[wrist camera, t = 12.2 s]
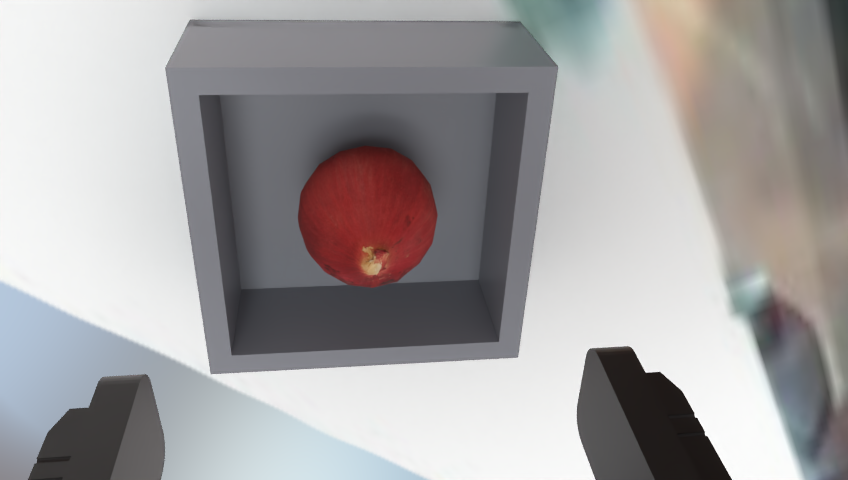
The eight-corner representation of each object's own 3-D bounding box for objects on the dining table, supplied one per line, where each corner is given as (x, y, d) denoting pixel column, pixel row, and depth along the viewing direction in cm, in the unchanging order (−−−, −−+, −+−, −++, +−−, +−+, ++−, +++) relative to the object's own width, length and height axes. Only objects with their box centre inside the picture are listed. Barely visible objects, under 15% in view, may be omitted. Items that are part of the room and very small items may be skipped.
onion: (435, 214, 36) (463, 315, 29) (319, 242, 36) (321, 349, 29) (410, 104, 33) (436, 188, 26) (284, 134, 33) (276, 226, 26)
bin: (519, 21, 32) (558, 66, 27) (491, 283, 40) (517, 357, 35) (189, 20, 31) (165, 67, 26) (224, 294, 38) (210, 374, 33)
